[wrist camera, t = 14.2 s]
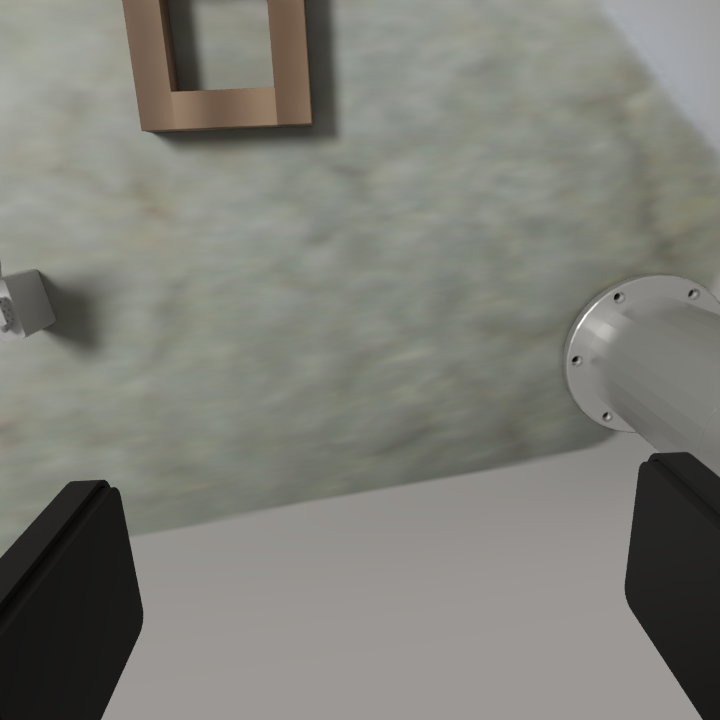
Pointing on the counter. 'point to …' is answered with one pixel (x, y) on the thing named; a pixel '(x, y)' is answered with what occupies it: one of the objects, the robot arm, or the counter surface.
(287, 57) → the shallow holder
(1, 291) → the silver flip-top case
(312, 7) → the counter surface
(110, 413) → the counter surface
